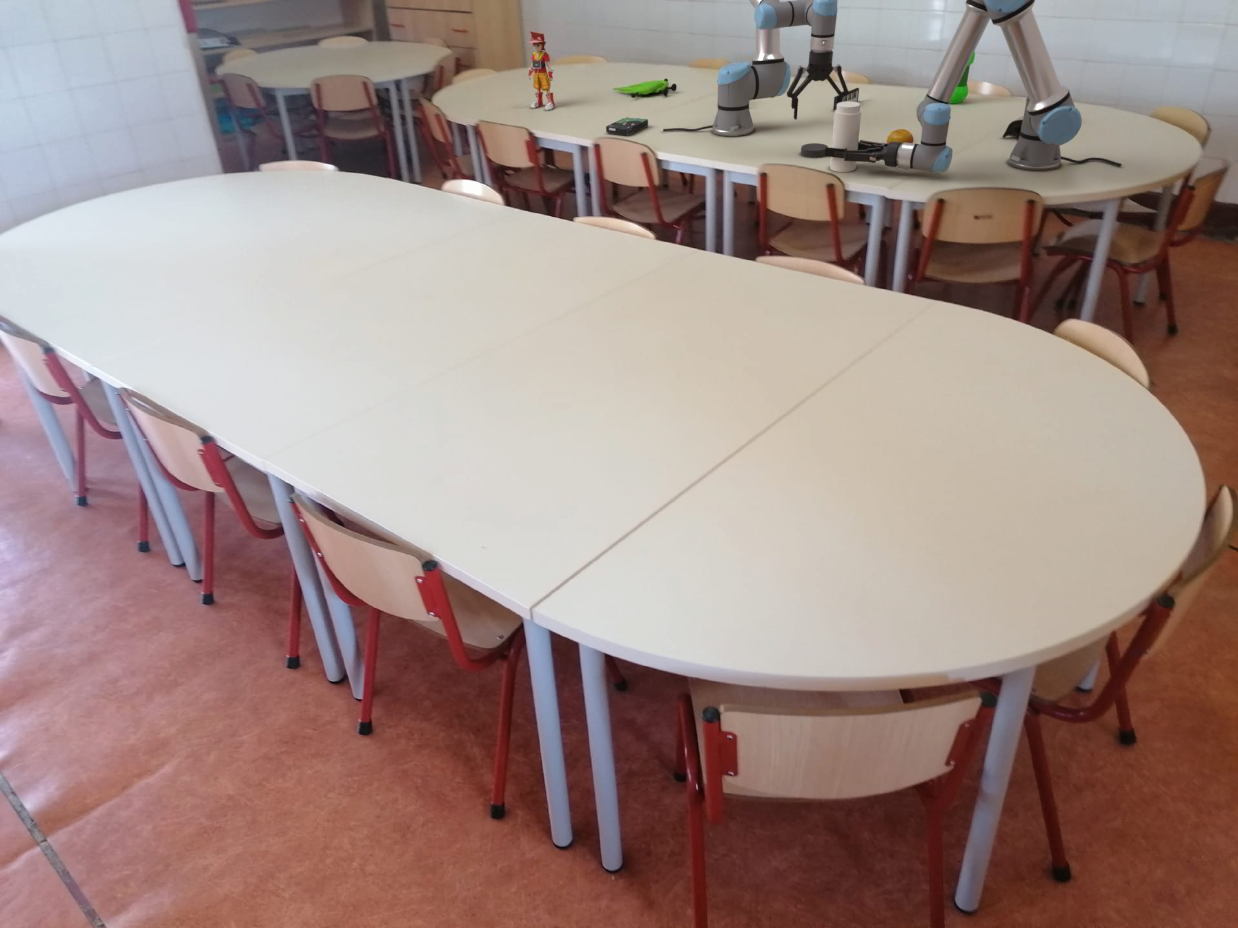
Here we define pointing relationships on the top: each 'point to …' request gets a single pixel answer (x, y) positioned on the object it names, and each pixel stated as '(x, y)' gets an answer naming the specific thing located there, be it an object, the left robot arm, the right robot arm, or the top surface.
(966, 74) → the plastic bottle
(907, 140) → the fruit
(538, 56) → the toy
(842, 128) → the jar
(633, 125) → the disk drive
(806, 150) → the lid
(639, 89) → the toy
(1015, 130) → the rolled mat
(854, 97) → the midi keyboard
